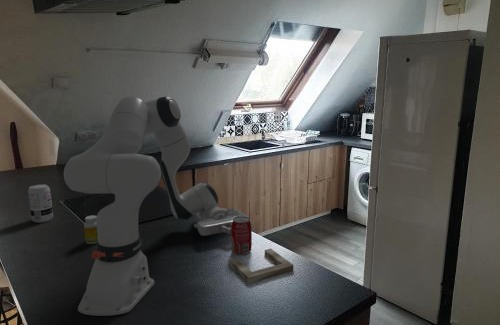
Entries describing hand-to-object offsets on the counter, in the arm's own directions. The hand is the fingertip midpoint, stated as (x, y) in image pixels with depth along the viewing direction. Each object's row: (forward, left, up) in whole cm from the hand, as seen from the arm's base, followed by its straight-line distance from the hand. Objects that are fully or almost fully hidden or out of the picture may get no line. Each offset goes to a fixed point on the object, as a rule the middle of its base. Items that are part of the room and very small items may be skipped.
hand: (232, 231), depth 135 cm
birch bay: (-18, -10, -5) cm, 21 cm away
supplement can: (+23, +84, -5) cm, 88 cm away
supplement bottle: (+1, +52, -5) cm, 53 cm away
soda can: (-6, -4, -5) cm, 9 cm away
